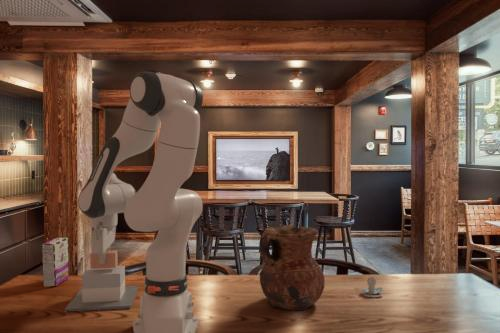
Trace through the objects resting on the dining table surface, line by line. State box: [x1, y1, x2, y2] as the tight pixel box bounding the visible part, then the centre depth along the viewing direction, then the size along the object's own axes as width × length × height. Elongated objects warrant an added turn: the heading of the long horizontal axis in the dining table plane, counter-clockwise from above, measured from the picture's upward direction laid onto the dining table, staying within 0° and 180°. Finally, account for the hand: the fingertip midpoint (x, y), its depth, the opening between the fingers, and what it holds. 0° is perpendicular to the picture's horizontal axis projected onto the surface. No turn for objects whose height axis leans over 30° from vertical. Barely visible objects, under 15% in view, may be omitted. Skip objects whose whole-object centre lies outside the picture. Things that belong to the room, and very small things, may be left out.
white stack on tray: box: [64, 264, 140, 312], centre depth 138 cm, size 20×20×10 cm
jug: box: [258, 224, 326, 312], centre depth 134 cm, size 22×21×25 cm
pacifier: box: [360, 276, 383, 299], centre depth 142 cm, size 7×6×6 cm
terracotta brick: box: [89, 249, 119, 269], centre depth 138 cm, size 4×8×5 cm, turn 98°
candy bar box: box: [41, 237, 70, 286], centre depth 156 cm, size 11×5×16 cm, turn 179°
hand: (104, 261), depth 138 cm, fingers closed on terracotta brick, 4 cm apart
